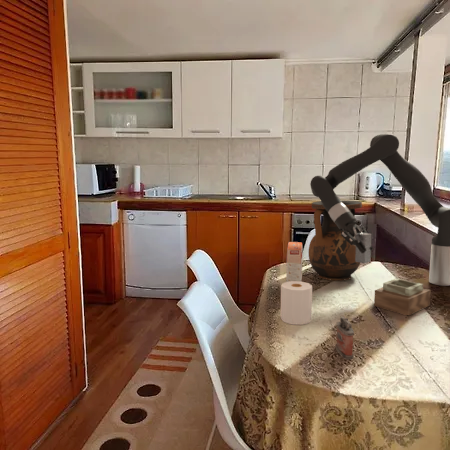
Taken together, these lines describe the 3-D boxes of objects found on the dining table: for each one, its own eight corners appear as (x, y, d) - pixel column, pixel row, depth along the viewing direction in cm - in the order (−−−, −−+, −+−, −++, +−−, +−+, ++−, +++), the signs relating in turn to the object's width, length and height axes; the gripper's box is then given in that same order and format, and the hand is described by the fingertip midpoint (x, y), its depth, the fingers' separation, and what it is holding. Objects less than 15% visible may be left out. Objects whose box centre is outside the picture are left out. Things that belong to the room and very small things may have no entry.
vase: (319, 266, 206) (321, 198, 201) (368, 273, 192) (371, 201, 187) (299, 277, 187) (300, 202, 182) (351, 286, 173) (354, 205, 167)
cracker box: (301, 302, 155) (302, 248, 151) (285, 301, 156) (286, 248, 153) (301, 290, 168) (302, 241, 165) (287, 289, 169) (287, 241, 166)
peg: (361, 259, 159) (362, 232, 157) (370, 261, 156) (371, 233, 154) (355, 261, 156) (356, 233, 155) (364, 263, 153) (365, 235, 152)
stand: (396, 296, 160) (397, 275, 158) (429, 305, 150) (431, 283, 148) (374, 305, 150) (375, 283, 148) (408, 315, 140) (409, 292, 138)
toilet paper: (275, 316, 140) (275, 283, 139) (300, 311, 144) (301, 279, 143) (291, 327, 131) (291, 291, 129) (317, 321, 135) (318, 287, 133)
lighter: (333, 346, 117) (334, 313, 116) (344, 345, 118) (345, 313, 116) (343, 359, 109) (345, 324, 108) (355, 358, 110) (357, 324, 108)
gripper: (337, 212, 155) (363, 248, 147) (358, 209, 163) (384, 242, 156) (325, 224, 160) (350, 259, 152) (346, 220, 168) (371, 253, 161)
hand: (367, 250), depth 154 cm, fingers closed on peg, 4 cm apart
